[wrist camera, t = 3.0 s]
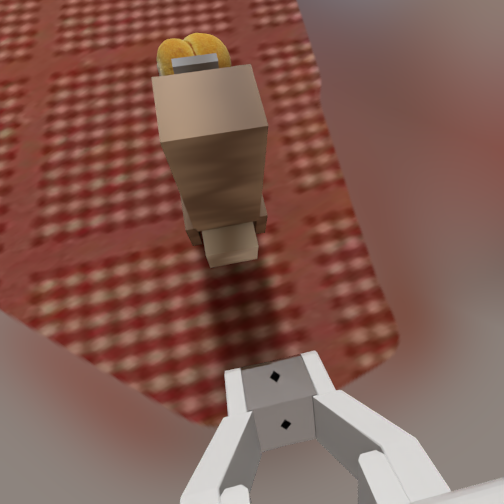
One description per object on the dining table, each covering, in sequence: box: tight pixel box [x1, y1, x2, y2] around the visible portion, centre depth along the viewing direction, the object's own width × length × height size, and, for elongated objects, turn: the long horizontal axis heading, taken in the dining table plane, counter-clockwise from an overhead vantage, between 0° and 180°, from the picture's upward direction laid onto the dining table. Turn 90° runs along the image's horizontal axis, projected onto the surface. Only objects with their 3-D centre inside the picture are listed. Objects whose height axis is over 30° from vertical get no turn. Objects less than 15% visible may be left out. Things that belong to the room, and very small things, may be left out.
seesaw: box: [171, 53, 258, 268], centre depth 28 cm, size 6×18×9 cm, turn 12°
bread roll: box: [157, 33, 231, 76], centre depth 37 cm, size 8×9×4 cm
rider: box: [152, 64, 268, 246], centre depth 21 cm, size 6×4×13 cm, turn 102°
